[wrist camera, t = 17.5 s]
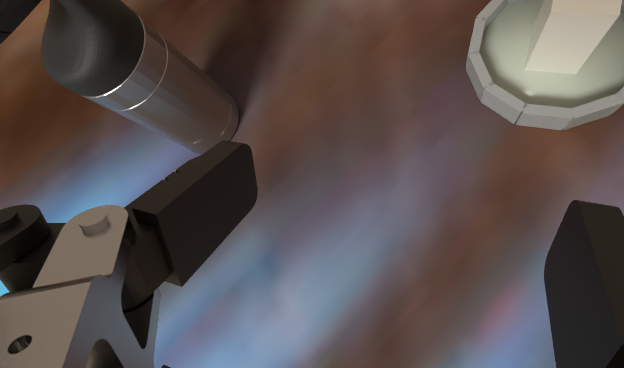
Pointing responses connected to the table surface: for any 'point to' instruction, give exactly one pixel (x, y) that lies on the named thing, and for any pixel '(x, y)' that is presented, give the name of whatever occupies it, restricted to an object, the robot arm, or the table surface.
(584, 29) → the cream rectangular block
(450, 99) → the table surface
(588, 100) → the round tray
